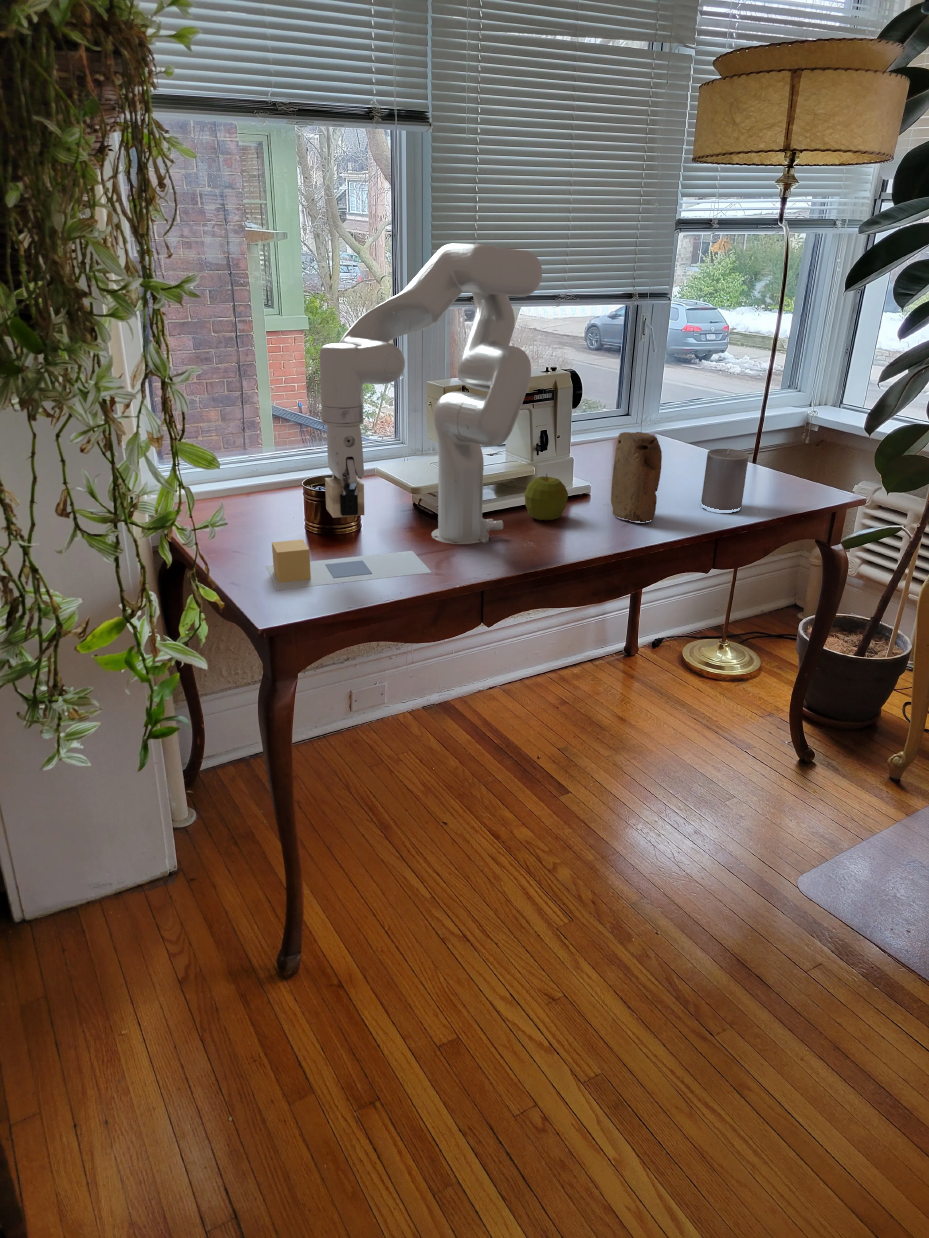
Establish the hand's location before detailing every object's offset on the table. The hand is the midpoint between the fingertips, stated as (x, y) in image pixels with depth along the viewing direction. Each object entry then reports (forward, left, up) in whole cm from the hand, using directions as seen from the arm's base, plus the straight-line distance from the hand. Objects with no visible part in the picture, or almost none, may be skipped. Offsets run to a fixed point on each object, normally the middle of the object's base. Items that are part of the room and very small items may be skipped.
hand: (345, 509), depth 175 cm
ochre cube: (+11, 0, -12) cm, 16 cm away
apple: (-52, -22, -14) cm, 58 cm away
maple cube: (0, 0, -1) cm, 1 cm away
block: (-72, -16, -14) cm, 75 cm away
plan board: (0, 0, -13) cm, 13 cm away
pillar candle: (-97, -17, -14) cm, 100 cm away
